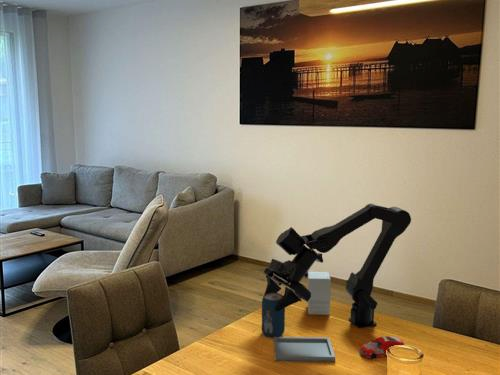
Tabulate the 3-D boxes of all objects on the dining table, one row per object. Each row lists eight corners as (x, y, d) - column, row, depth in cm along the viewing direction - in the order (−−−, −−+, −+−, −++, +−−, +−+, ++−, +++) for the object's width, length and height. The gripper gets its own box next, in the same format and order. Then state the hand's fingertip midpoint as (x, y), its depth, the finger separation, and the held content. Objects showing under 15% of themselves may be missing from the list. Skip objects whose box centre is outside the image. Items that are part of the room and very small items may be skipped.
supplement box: (328, 306, 159) (329, 271, 157) (330, 315, 152) (331, 278, 150) (306, 305, 160) (307, 270, 158) (307, 314, 153) (308, 278, 151)
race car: (366, 361, 124) (366, 348, 123) (355, 352, 129) (356, 338, 128) (407, 354, 128) (408, 340, 127) (395, 345, 133) (396, 332, 132)
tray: (328, 342, 134) (328, 337, 133) (335, 362, 123) (335, 356, 123) (273, 341, 134) (273, 336, 134) (275, 361, 123) (275, 356, 123)
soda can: (283, 328, 142) (283, 291, 140) (285, 339, 135) (286, 300, 134) (260, 328, 142) (261, 291, 140) (262, 339, 135) (262, 300, 133)
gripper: (268, 242, 145) (237, 281, 141) (303, 257, 129) (269, 302, 125) (289, 262, 150) (259, 301, 146) (325, 279, 134) (293, 323, 130)
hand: (269, 306), depth 137 cm, fingers closed on soda can, 7 cm apart
